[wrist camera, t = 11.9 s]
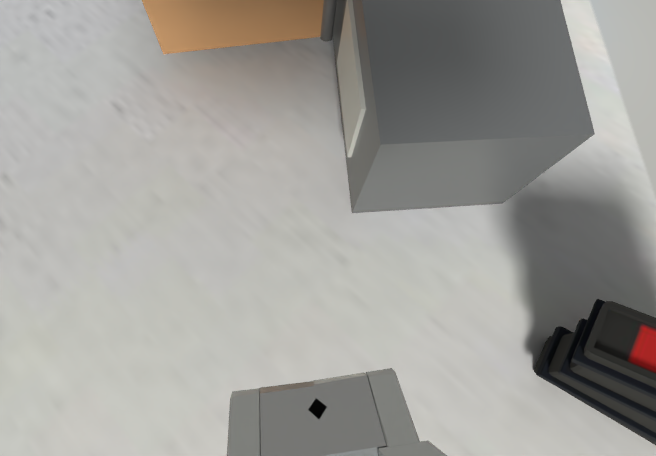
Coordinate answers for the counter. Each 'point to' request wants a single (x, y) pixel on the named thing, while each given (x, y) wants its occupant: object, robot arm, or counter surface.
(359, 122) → the camera box
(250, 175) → the counter surface
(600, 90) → the counter surface
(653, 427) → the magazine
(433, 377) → the counter surface
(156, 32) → the side door
